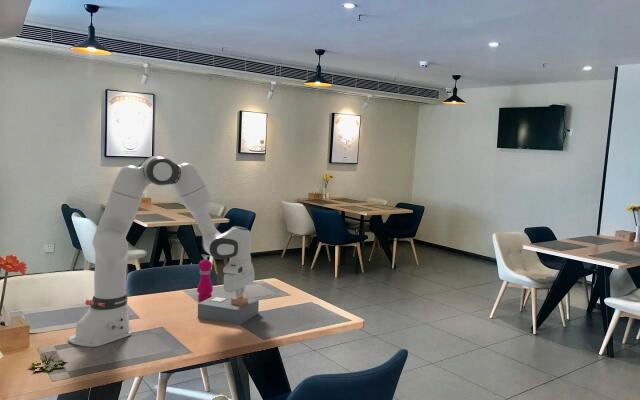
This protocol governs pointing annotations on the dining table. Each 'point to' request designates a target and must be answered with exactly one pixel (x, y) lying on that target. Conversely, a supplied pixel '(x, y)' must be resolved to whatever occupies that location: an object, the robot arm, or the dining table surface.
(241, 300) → the tan cube
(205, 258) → the pepper mill
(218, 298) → the cream plunger
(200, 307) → the button console
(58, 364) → the green leafy plant
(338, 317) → the dining table surface
